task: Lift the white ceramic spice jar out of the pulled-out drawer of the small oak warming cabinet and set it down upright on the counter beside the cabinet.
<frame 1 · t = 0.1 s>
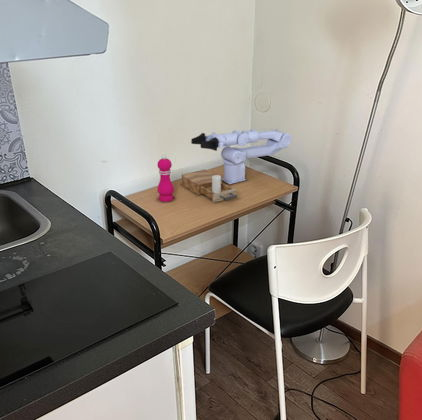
hand: (196, 143, 193), 22 cm above the table, tool horizontal, fingers open, 7 cm apart
pepper mill: (166, 199, 194), on the table
drawer: (219, 192, 192), point 3 cm above the table, slide at 10.5 cm, touching spice jar
cabinet: (201, 186, 205), on the table
spice jar: (216, 191, 194), point 2 cm above the table, touching drawer
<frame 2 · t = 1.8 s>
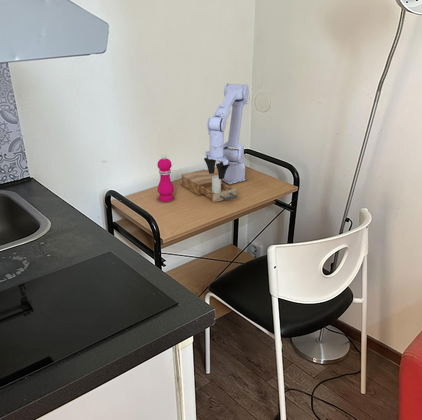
hand: (216, 176, 191), 9 cm above the table, tool pointing down, fingers open, 7 cm apart
nothing on the table moved.
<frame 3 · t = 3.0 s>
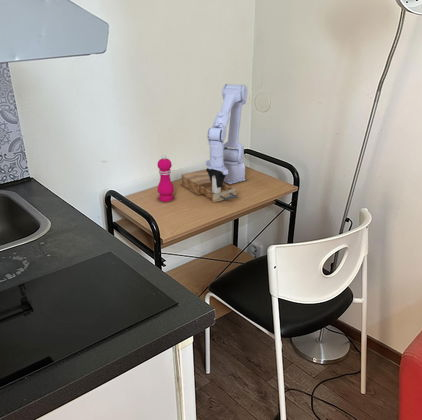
hand: (216, 185, 192), 5 cm above the table, tool pointing down, fingers closed on spice jar, 4 cm apart
spice jar: (216, 191, 194), point 2 cm above the table, touching drawer, gripper
everything else where it was.
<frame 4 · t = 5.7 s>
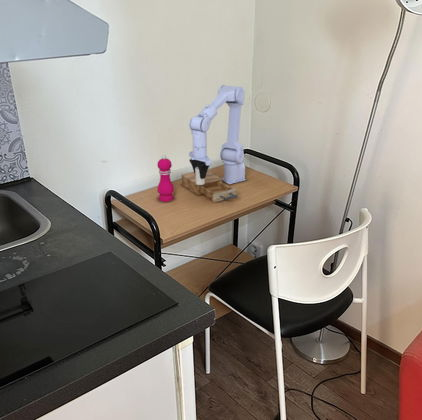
hand: (200, 176, 188), 10 cm above the table, tool pointing down, fingers closed on spice jar, 4 cm apart
drawer: (219, 192, 192), point 3 cm above the table, slide at 10.5 cm
spice jar: (200, 183, 189), point 7 cm above the table, touching gripper
everything else where it was.
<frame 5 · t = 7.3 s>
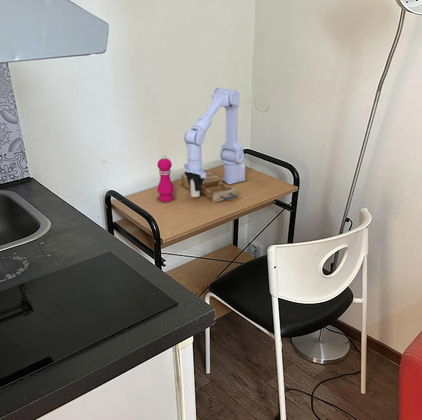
hand: (195, 188, 189), 5 cm above the table, tool pointing down, fingers closed on spice jar, 4 cm apart
spice jar: (195, 195, 191), point 2 cm above the table, touching gripper
everything else where it was.
when the fingers open (3 cm above the table, at t = 8.5 s): spice jar stays where it is, on the table.
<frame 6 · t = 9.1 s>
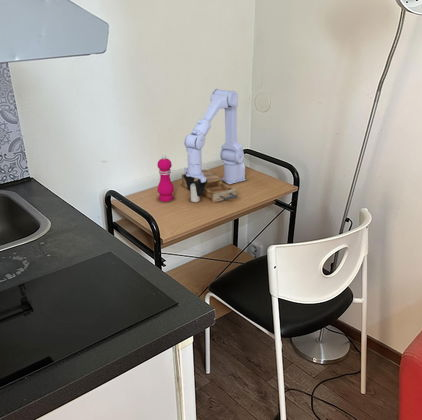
hand: (195, 192, 190), 3 cm above the table, tool pointing down, fingers open, 7 cm apart
spice jar: (195, 200, 192), on the table
everything else where it was.
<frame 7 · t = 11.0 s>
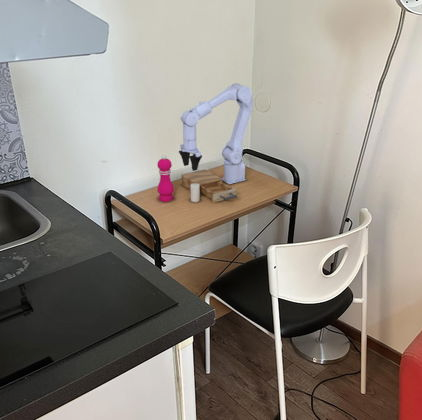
hand: (190, 167, 201), 9 cm above the table, tool pointing down, fingers open, 7 cm apart
nothing on the table moved.
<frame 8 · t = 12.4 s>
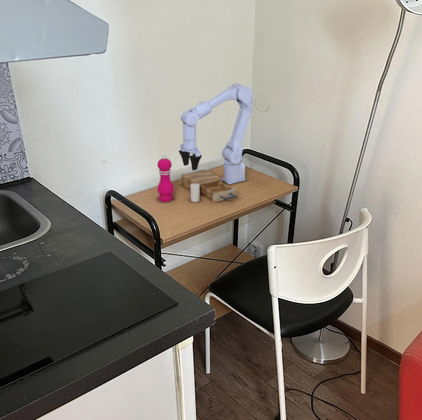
hand: (190, 167, 201), 9 cm above the table, tool pointing down, fingers open, 7 cm apart
nothing on the table moved.
at the end: spice jar 0.1 cm from the target spot, on the table; spice jar tilted 0°; the gripper is holding nothing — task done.
